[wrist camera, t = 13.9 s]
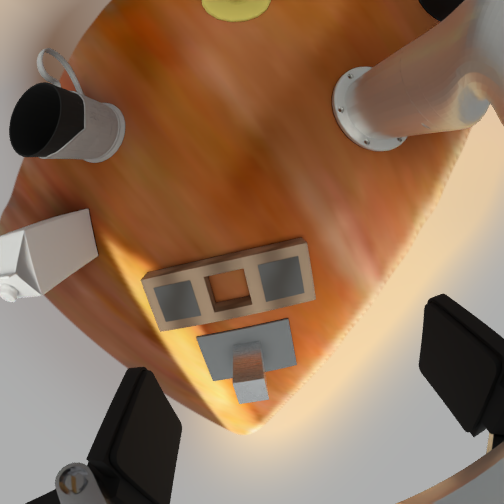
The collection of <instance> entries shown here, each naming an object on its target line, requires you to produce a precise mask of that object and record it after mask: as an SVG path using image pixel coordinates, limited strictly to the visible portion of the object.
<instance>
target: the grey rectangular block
mask: <svg viewBox="0 0 504 504" xmlns="http://www.w3.org/2000/svg"><path fill="white" fill-rule="evenodd" d="M233 386H234V389H235V392H236V395H237V398H238V401H239V404H242V403H249V402H256V401H262V400H268V399H269V396H268V389H267V382H266V375H265V367H264V360H263V355H262V351H261V346H260V341H259V340H258V341H253V342H247V343H241V344H235V345H233Z"/></svg>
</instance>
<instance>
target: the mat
mask: <svg viewBox="0 0 504 504" xmlns="http://www.w3.org/2000/svg"><path fill="white" fill-rule="evenodd" d="M196 338H197V341H198V344H199V346H200V349H201V351H202V354H203V357H204V359H205V362H206V364H207V367H208V369H209V372H210V374H211V377H212V379H213V381H217V380H223V379H229V378H233V345H235V344H241V343H247V342H253V341H258V340H259V341H260V346H261V351H262V355H263V360H264V367H265V372H267V371H272V370H276V369H281V368H285V367H290V366H294V365H297V363H296V358H295V352H294V347H293V342H292V336H291V331H290V326H289V321H288V318H285V319H281V320H276V321H272V322H267V323H263V324H258V325H254V326H249V327H244V328H239V329H234V330H229V331H224V332H219V333H213V334H208V335H202V336H197V337H196Z"/></svg>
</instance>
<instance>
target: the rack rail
mask: <svg viewBox="0 0 504 504" xmlns="http://www.w3.org/2000/svg"><path fill="white" fill-rule="evenodd" d="M242 268H244V272H245V276H246V280H247V284H248V288H249V292H250V296H246V297H241V298H237V299H232V300H227V301H223V302H218V303H216V302H215V299H214V295H213V292H212V288H211V285H210V282H209V278H208V276H211V275H215V274H220V273H224V272H229V271H233V270H238V269H242ZM141 282H142V285H143V288H144V290H145V293H146V296H147V299H148V301H149V304H150V307H151V309H152V312H153V314H154V317H155V319H156V322H157V324H158V327H159V329H160V332H161V331H167V330H173V329H179V328H185V327H190V326H196V325H201V324H207V323H212V322H217V321H222V320H227V319H232V318H237V317H242V316H247V315H251V314H256V313H260V312H265V311H269V310H274V309H278V308H283V307H287V306H291V305H295V304H299V303H303V302H307V301H312V300H315V299H316V297H315V290H314V283H313V277H312V270H311V264H310V258H309V252H308V246H307V242H306V241H305V240H304V239H303V238H297V239H293V240H288V241H284V242H279V243H275V244H270V245H266V246H262V247H257V248H253V249H248V250H244V251H240V252H235V253H231V254H226V255H222V256H218V257H213V258H209V259H204V260H200V261H196V262H191V263H187V264H182V265H178V266H174V267H169V268H165V269H161V270H156V271H152V272H148V273H147V274H146V275H145V276H144V277H143V278H142V279H141Z"/></svg>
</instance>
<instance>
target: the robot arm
mask: <svg viewBox="0 0 504 504" xmlns="http://www.w3.org/2000/svg"><path fill="white" fill-rule="evenodd" d="M348 77H349V78H350V79H349V78H348ZM490 104H491V105H492V106H493V108H494V110H495V111H496V113H497V115H498V117H499V119H500V121H501V123H502V124H503V125H504V0H464V1H463V2H462V3H461V4H460V5H459V6H458V7H457V8H456V9H455V10H454V11H453V12H452V13H451V14H450V15H449V16H447V17H446V18H445V19H444V20H442V21H441V22H440V23H439V24H438V25H436V26H435V27H433V28H432V29H430V30H429V31H427V32H426V33H424V34H423V35H422V36H420V37H418V38H417V39H415V40H414V41H412V42H411V43H409V44H407V45H406V46H404V47H403V48H401V49H400V50H398V51H397V52H395V53H393V54H392V55H390V56H389V57H387V58H386V59H384V60H383V61H382V62H380V63H379V64H377V65H376V66H374V67H357V68H354V69H351V70H349V71H348V72H346V73H345V74H344V75H343V76H341V77H340V79H339V80H338V81H337V83H336V85H335V87H334V90H333V95H332V107H333V111H334V115H335V118H336V120H337V123H338V124H339V126H340V128H341V129H342V131H343V132H344V133H345V134H346V136H347V137H348V138H350V139H351V140H352V141H353V142H354V143H356V144H357V145H359V146H360V147H363V148H365V149H368V150H372V151H388V150H391V149H394V148H396V147H398V146H399V145H401V144H402V143H403V142H404V141H405V140H406V138H407V137H408V136H413V135H420V134H428V133H436V132H444V131H453V130H461V129H466V128H469V127H471V126H473V125H475V124H476V123H477V122H479V121H480V120H481V119H482V117H483V116H484V114H485V113H486V111H487V109H488V107H489V105H490ZM338 109H339V110H340V112H339V111H338ZM397 139H398V140H397ZM364 141H365V142H366V143H364ZM419 369H420V371H421V373H422V374H423V376H424V377H425V378H426V379H427V381H428V382H429V383H430V384H431V386H432V387H433V388H434V390H435V391H436V392H437V394H438V395H439V396H440V398H441V399H442V400H443V402H444V403H445V404H446V406H447V407H448V408H449V409H450V411H451V412H452V414H453V415H454V416H455V418H456V419H457V421H458V422H459V423H460V425H461V426H462V428H463V429H464V430H465V431H466V432H470V433H471V434H472V436H473V437H475V436H476V435H478V434H479V433H481V432H482V431H484V430H485V429H487V430H488V431H489V439H488V445H487V452H486V455H484V456H483V457H481V458H480V459H478V460H477V461H475V462H474V463H473V464H471V465H469V466H468V467H466V468H465V469H463V470H461V471H460V472H458V473H456V474H455V475H453V476H451V477H450V478H448V479H446V480H444V481H442V482H441V483H439V484H437V485H435V486H433V487H431V488H429V489H427V490H425V491H423V492H421V493H419V494H417V495H415V496H413V497H410V498H408V499H406V500H404V501H401V502H399V503H397V504H504V339H503V338H502V337H501V336H500V335H498V334H497V333H496V332H495V331H493V330H492V329H491V328H489V327H488V326H487V325H486V324H485V323H483V322H482V321H481V320H479V319H478V318H477V317H475V316H474V315H472V314H471V313H470V312H469V311H467V310H466V309H465V308H463V307H462V306H461V305H459V304H458V303H457V302H455V301H454V300H452V299H451V298H450V297H448V296H447V295H445V294H440V295H438V296H435V297H433V298H430V299H429V300H428V303H427V304H426V305H425V308H424V322H423V333H422V343H421V352H420V360H419ZM181 432H182V425H181V422H180V420H179V418H178V417H177V415H176V414H175V412H174V410H173V408H172V407H171V405H170V403H169V402H168V400H167V398H166V397H165V395H164V393H163V391H162V389H161V387H160V386H159V384H158V382H157V380H156V378H155V376H154V374H153V373H152V372H151V371H148V370H147V369H146V368H145V367H137V368H129V369H128V370H127V371H126V373H125V375H124V377H123V379H122V382H121V384H120V386H119V388H118V390H117V392H116V394H115V396H114V398H113V400H112V403H111V405H110V407H109V409H108V411H107V413H106V416H105V418H104V420H103V422H102V424H101V427H100V429H99V431H98V434H97V436H96V438H95V440H94V443H93V445H92V447H91V450H90V452H89V454H88V457H87V460H88V461H89V462H88V465H87V466H86V465H85V464H82V463H71V464H68V465H66V466H65V467H63V468H62V469H61V470H60V471H59V473H58V474H57V476H56V480H55V486H56V489H55V490H53V491H51V492H49V493H47V494H45V495H43V496H41V497H39V498H36V499H34V500H32V501H30V502H27V503H26V504H170V498H171V492H172V486H173V479H174V473H175V467H176V461H177V454H178V449H179V444H180V437H181Z"/></svg>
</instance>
